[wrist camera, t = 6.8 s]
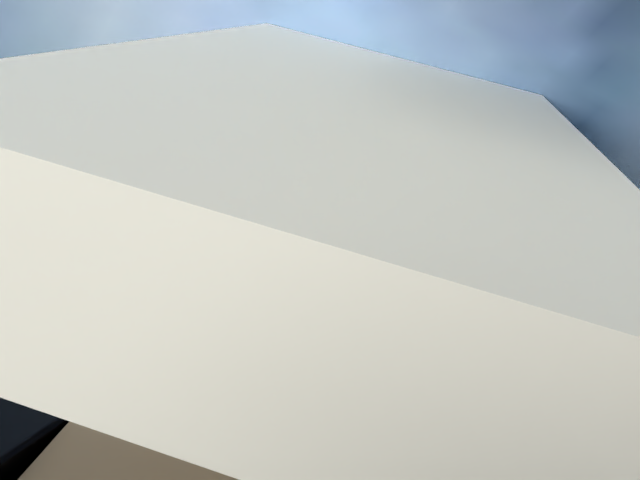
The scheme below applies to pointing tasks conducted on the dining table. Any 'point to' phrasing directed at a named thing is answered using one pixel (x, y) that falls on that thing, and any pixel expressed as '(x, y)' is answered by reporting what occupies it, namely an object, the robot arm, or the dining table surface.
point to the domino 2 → (315, 263)
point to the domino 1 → (108, 460)
